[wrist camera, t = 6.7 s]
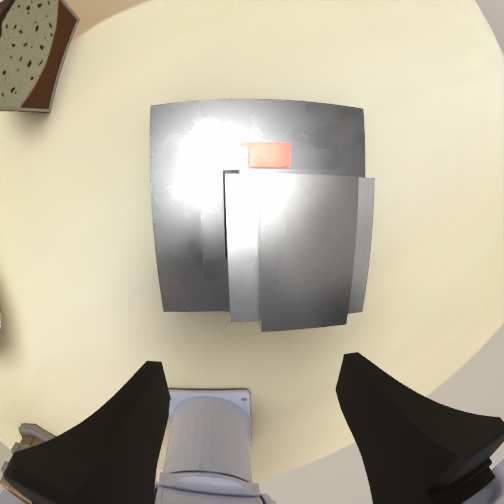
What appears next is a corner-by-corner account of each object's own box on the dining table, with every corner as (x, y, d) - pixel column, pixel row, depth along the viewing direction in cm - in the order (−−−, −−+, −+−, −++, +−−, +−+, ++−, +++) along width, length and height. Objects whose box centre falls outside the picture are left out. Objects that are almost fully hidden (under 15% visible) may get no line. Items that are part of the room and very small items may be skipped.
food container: (38, 22, 11) (-17, -11, 2) (85, 7, 12) (33, -44, 2) (4, 136, 15) (-73, 135, 5) (47, 129, 15) (-42, 118, 6)
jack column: (308, 254, 14) (371, 322, 7) (230, 256, 14) (229, 334, 7) (310, 173, 13) (387, 173, 6) (227, 172, 13) (222, 167, 6)
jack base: (347, 294, 21) (376, 325, 16) (168, 302, 20) (151, 339, 15) (354, 112, 17) (390, 97, 12) (156, 110, 16) (131, 90, 11)
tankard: (60, 466, 28) (40, 519, 14) (13, 422, 24) (-17, 476, 10) (130, 472, 27) (115, 547, 13) (72, 422, 24) (36, 506, 9)
